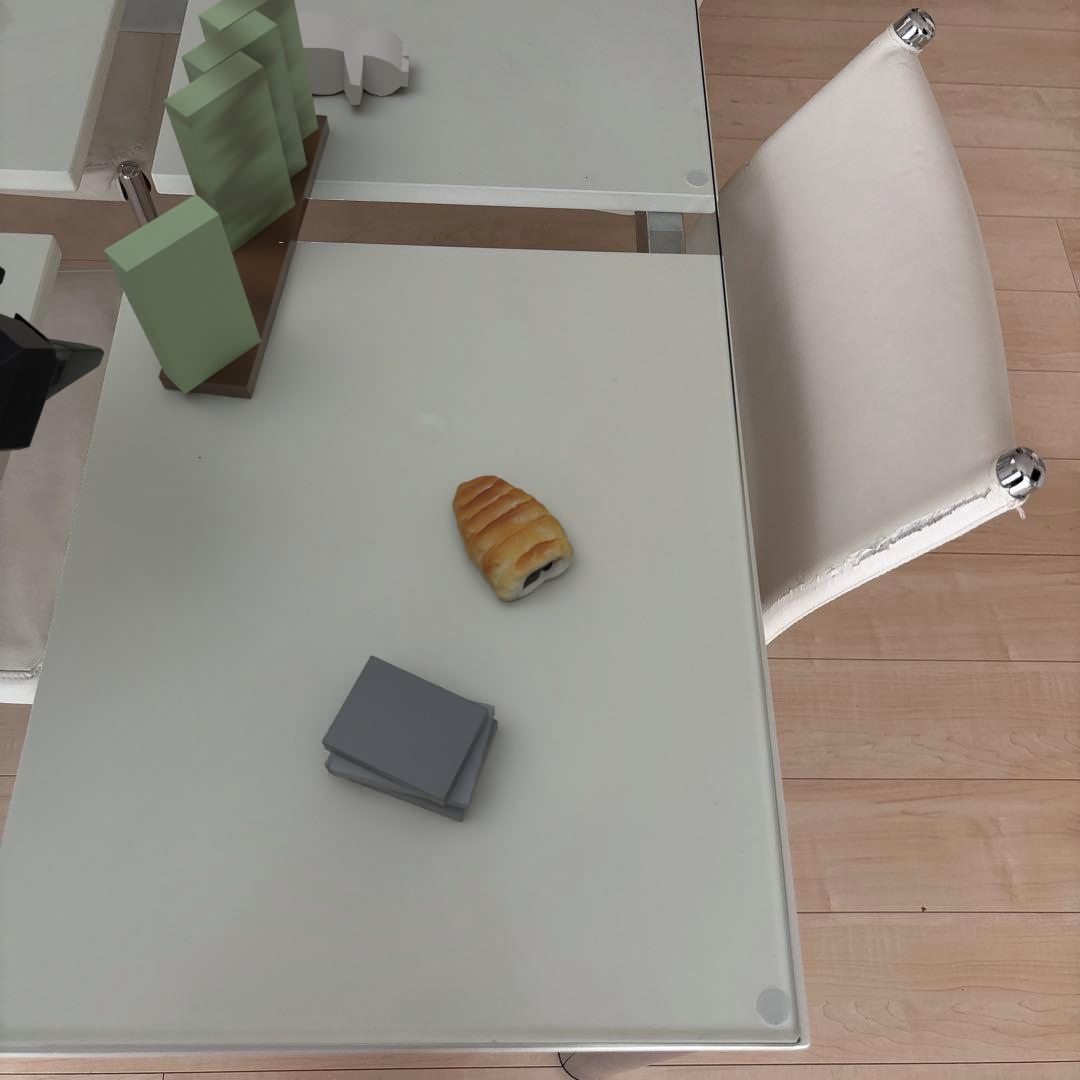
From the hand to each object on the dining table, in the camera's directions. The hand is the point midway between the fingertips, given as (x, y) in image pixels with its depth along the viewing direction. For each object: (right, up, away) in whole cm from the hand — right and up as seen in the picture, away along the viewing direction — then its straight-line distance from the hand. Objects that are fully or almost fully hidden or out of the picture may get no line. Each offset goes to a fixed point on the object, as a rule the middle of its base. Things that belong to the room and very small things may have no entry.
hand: (50, 315), depth 58 cm
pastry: (+27, -14, +10) cm, 33 cm away
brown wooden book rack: (+6, +10, +21) cm, 24 cm away
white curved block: (+10, +28, +30) cm, 43 cm away
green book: (+5, 0, +14) cm, 15 cm away
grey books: (+22, -27, +3) cm, 35 cm away
